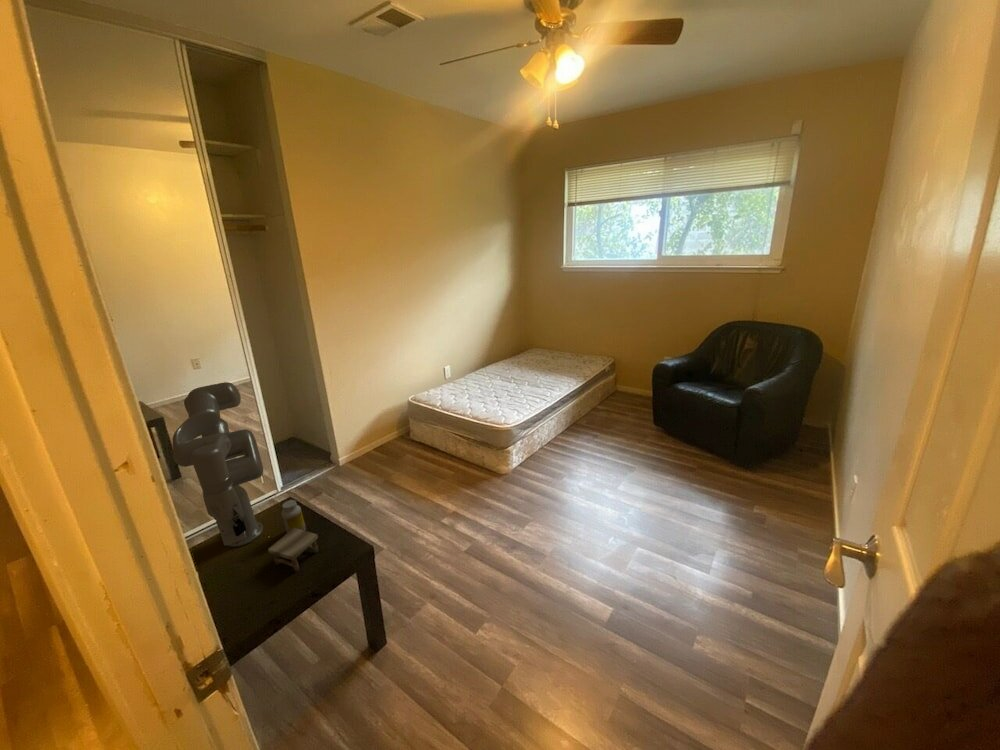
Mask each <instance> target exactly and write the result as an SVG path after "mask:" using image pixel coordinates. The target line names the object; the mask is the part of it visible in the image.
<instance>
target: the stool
mask: <svg viewBox="0 0 1000 750" xmlns="http://www.w3.org/2000/svg"><path fill="white" fill-rule="evenodd" d="M318 538H319V536H318V534H317V533H313V532H311V531H307V530H305V531H304V530H300V529H297V528H293V529H292V530H291V531H289V532H288V533H287V532H286V534H284V535H283V536H282V537H281V538H280V539H278V540H277V541H276V542H275V543H274V544H272V545H271V546H270V547H268V549H267V551H268V553H269V554H272V557H273V560H274V563H275V565H276V566H280V565H281V564H283V565H287V566H290V567H292V568H293V570H294V572H299V571H300V565H299V562H298V559H297V557H299V556H300V555H301V554H302V553H303V552H304V551H305V550H307V549H308V548H310V549H312V551H313V553H314V554H317V553H319V545H318V543H317V540H318ZM280 557H281V558H280ZM283 558H284V559H283ZM287 559H288V560H290V561H288V560H287Z"/></svg>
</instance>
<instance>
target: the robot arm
mask: <svg viewBox="0 0 1000 750" xmlns="http://www.w3.org/2000/svg"><path fill="white" fill-rule="evenodd" d="M241 399H242V398H241V393H240V391H239V389H238V387H236V386H235V384H233V383H231V382H227V381H226V382H225V381H224V382H218V383H216V384H215V383H214V384H209V385H204V386H199V387H196V388H194V389H192V390H190V392H189V393H188V394H187V395H186V397H185V398H184V401H183V404H184V408H185V411H186V412H187V414H188V418H187V419H185V421H183V422H182V423H181V424H180V425H179V427H177V429H176V430H175V432H174V433H173V436H172V455H173V460H174V462H175V463H176V464H177V465H178V466H179V467H182V468H183V467H184V468H185V467H192V466H193V468H194V471H195V473H196V477H197V480H198V481H199V485H200V487H201V490H202V498H203V502H204V505H205V509H206V512H207V514H208V516H210V517H212V518H213V519H214V520H215V522H216V525H217V527H218V524H217V521H216V518H215V513H216V514H217V515H218V518H219V519H220V520H224V521H231V522H232V523H233V525H234V526H233V529H234V532H235V535H236V536H239V535H241V534H242V533H243V532H245V537H246V538H245V539H243V540H240V541H237V542H234V543H231V544H228V545H226V546H228V547H231V548H232V547H233V548H235V547H236V548H237V547H240V546H245V545H247V544H249V543H252V542H253V541H255V540H256V539H257V538H258V537H259V536H260V535H261V534H262V533H263V531H264V527H263V526H264V525H263V524H262V523H261V522H260V521H257V520H256V518H255V513H254V511H253V508H252V505H251V501H250V497H249V495H248V492H247V490H246V489H245V488H244V487H243V486H241V485H243V484H245V483H248V482H249V483H250V482H252V481H255V480H257V479H259V478H261V477H262V476H263V475H264V466H263V462H262V461H263V460H262V458H261V454H260V450H259V447H258V444H257V443H258V442H257V441H256V438H255V437H256V436H255V435H254V433H253V432H252V430H250V429H247V428H245V429H239V430H238V429H237V430H235V431H231V432H230V429H229V428H230V427H229V425H228V423H227V421H226V420H225V419H223V418H221V411H222V410H223V411H224V410H229V409H232V408H236V407H238V406H239V405H240V404H241V401H242V400H241ZM234 513H236V514H235V515H234ZM237 516H238V518H239V519H238V520H237V521H235V519H234V518H235V517H237ZM218 529H219V527H218Z"/></svg>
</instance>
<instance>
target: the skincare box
mask: <svg viewBox="0 0 1000 750" xmlns="http://www.w3.org/2000/svg"><path fill="white" fill-rule="evenodd" d="M235 514H236V513H234V515H235ZM215 518H216V520H215V522H216V521H217V522H216V525H217V524H218V525H217V527H219V528H218V530H219V534H220V536H221V540H222V543H223V545H224V546H227V545H228V544H231V543H234V542H237V541H240V540H243V539H245V538H246V537H245V532H243V533H242V534H241V535H239V536H236V535H235V532H234V529H233V526H234V525H233V523H232V522H231V521H224V520H220V519H219V518H218V515H217V514H216V513H215ZM234 519H235V521H237V520H238V519H239V518H238V516H237V517H235V518H234Z"/></svg>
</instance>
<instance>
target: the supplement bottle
mask: <svg viewBox="0 0 1000 750" xmlns="http://www.w3.org/2000/svg"><path fill="white" fill-rule="evenodd" d="M281 506H282V511H281V518H282V521H283V524H284V528H285V531H286V534H287V533H288V532H289V531H291V530H292V529H293V528H297V529H300V530H304V531H306V528H307V526H306V521H305V520H304V519H305V518H304V516H303V512H302V508H301V506H300V505H298V504H297V501H296V500H295V499H290V500H287V501H285V502H283V504H282V505H281Z"/></svg>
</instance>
